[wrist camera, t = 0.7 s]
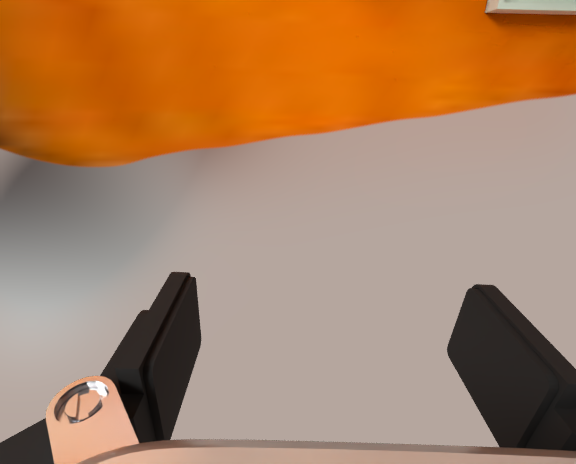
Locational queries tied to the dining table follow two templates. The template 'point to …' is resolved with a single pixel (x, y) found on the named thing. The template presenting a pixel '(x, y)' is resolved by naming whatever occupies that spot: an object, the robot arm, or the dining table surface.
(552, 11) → the tray
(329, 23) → the dining table surface
